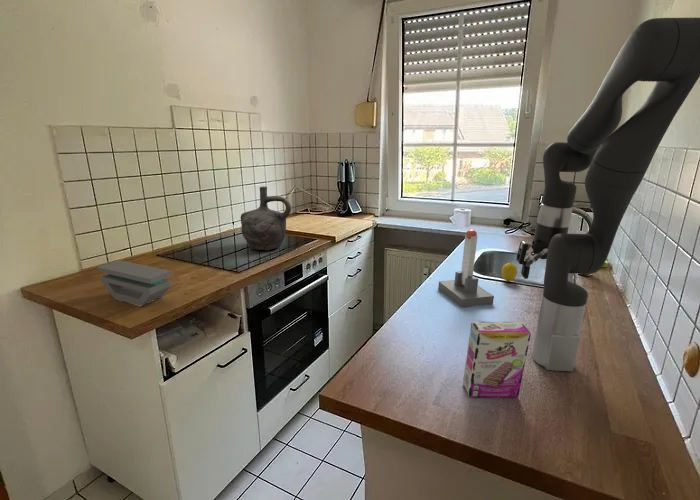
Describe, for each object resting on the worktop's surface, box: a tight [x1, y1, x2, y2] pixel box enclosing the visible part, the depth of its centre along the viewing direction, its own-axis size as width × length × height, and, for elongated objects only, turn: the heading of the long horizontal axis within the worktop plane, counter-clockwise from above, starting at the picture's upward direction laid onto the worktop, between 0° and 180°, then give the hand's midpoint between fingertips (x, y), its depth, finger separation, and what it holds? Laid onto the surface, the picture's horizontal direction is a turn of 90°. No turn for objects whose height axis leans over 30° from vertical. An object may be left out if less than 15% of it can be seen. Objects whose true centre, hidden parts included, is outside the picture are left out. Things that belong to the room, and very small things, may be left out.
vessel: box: [240, 186, 292, 251], centre depth 180 cm, size 24×22×30 cm
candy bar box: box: [462, 321, 532, 399], centre depth 81 cm, size 11×5×16 cm, turn 92°
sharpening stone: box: [96, 259, 173, 306], centre depth 125 cm, size 25×8×11 cm, turn 66°
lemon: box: [501, 261, 518, 282], centre depth 145 cm, size 6×6×8 cm
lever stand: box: [437, 270, 495, 308], centre depth 131 cm, size 16×12×8 cm
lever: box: [460, 229, 478, 286], centre depth 128 cm, size 4×4×20 cm
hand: (541, 278), depth 103 cm, fingers open, 8 cm apart
